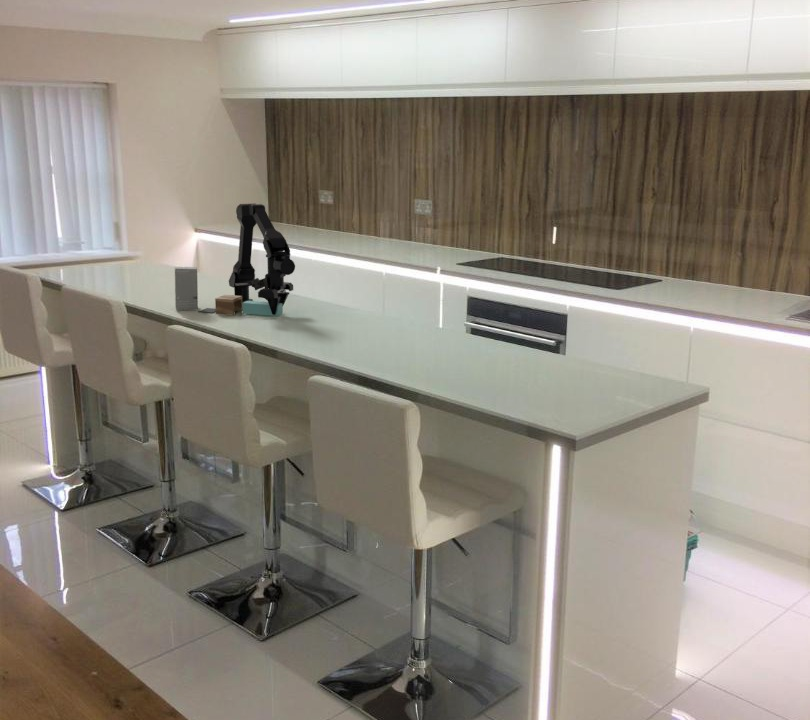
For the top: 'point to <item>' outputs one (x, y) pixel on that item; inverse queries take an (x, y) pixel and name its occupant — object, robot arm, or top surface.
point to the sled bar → (260, 308)
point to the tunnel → (228, 304)
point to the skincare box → (186, 288)
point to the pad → (262, 316)
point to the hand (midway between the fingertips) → (276, 313)
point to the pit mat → (208, 310)
